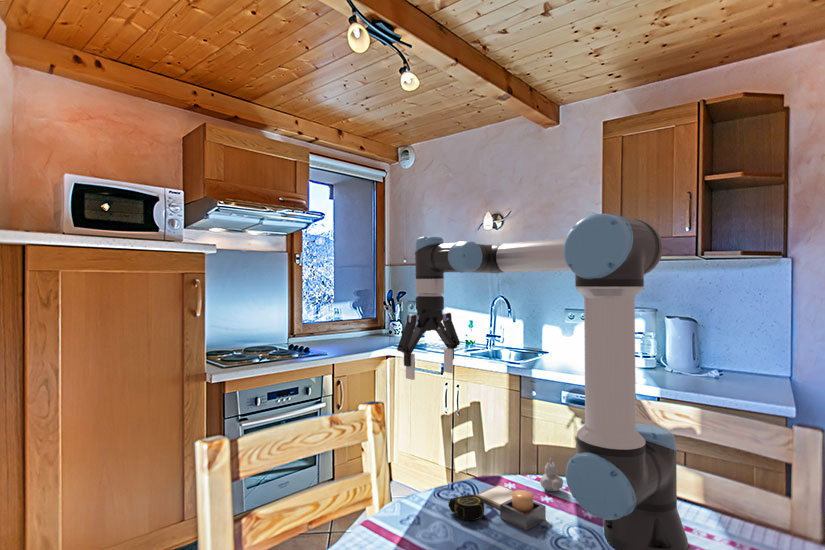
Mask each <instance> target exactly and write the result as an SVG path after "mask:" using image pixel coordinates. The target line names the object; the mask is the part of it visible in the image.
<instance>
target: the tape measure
mask: <svg viewBox="0 0 825 550" xmlns="http://www.w3.org/2000/svg"><path fill="white" fill-rule="evenodd" d="M475 495H476V494H466V495H465V494H464V495H461V496H456V497H453V498H450V499H449V501H448V502H447V503H448V507H449V510H450V512H451V513H454V514H455V515H456V516H457V518H460V519H462V520H464V521H465V520H468V521H473V520H478V519H480V518H482V517H483V516H484V514H485V502H483V500H482V498H480V497H478V496H475Z"/></svg>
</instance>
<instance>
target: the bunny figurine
mask: <svg viewBox="0 0 825 550" xmlns="http://www.w3.org/2000/svg"><path fill="white" fill-rule="evenodd" d="M558 473H559V471H558V467H557V464H556V463H555V461H552V459H551V458H549V461H548V462H546V464H545V466H544V473H543V474H542V475H541V478H540V484H541V487H542V488H543V489H544V490H546V491H547V492H556V491H560V489H562V488H563V486H564V480H563V478H562V477H561V476H559V475H558Z"/></svg>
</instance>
